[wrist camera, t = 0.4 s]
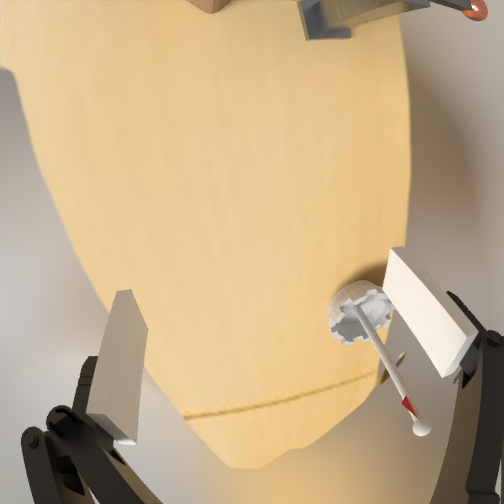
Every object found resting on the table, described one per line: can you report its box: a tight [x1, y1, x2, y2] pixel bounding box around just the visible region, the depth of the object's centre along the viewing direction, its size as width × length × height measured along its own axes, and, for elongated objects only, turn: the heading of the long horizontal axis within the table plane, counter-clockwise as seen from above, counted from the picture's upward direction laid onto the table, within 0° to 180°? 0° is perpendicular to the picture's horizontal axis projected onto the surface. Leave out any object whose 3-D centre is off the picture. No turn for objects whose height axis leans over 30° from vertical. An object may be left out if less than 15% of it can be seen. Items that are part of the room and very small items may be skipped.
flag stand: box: [328, 280, 432, 436], centre depth 41 cm, size 13×13×30 cm
